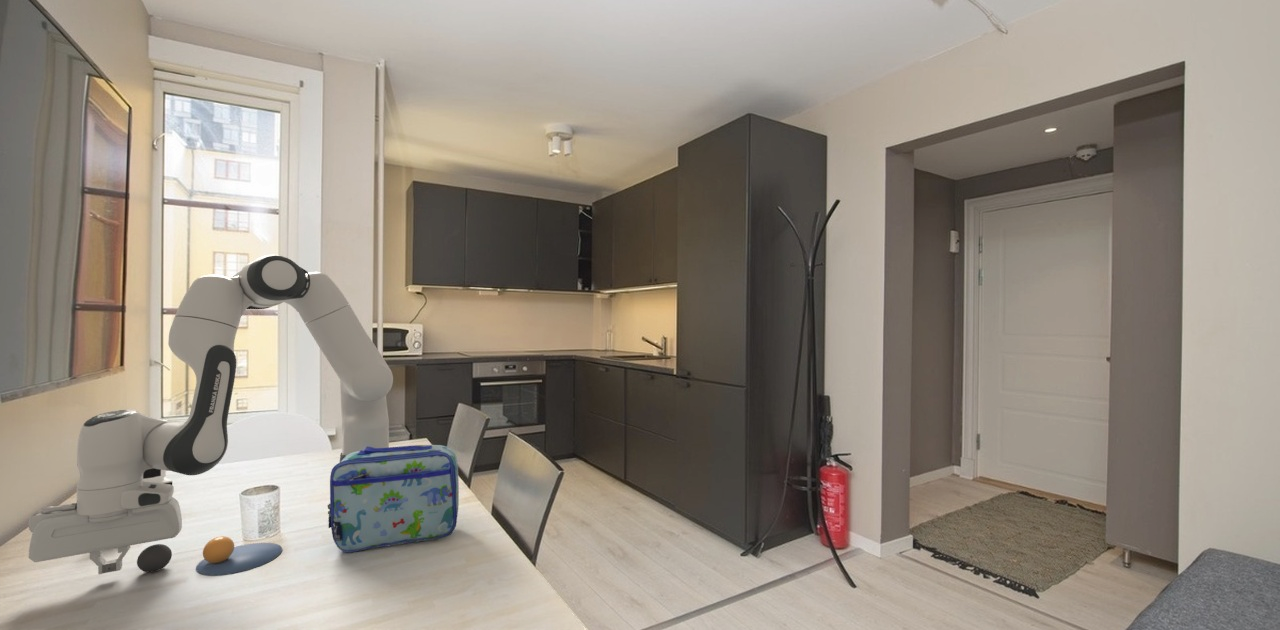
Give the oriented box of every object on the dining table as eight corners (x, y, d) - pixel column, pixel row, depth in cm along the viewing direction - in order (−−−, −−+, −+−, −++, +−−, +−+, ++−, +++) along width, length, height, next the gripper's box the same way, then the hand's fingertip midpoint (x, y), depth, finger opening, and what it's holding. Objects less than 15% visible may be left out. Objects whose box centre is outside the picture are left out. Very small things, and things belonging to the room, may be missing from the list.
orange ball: (200, 552, 106) (226, 560, 108) (193, 562, 102) (220, 571, 103) (217, 529, 107) (242, 537, 109) (210, 538, 103) (236, 547, 105)
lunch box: (323, 558, 107) (324, 457, 107) (337, 537, 118) (338, 444, 118) (456, 543, 115) (457, 448, 115) (459, 524, 125) (459, 437, 125)
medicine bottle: (135, 516, 129) (135, 468, 129) (126, 510, 133) (126, 463, 133) (172, 507, 135) (172, 461, 135) (162, 502, 139) (163, 457, 139)
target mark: (287, 539, 116) (287, 538, 116) (275, 566, 104) (275, 565, 104) (208, 551, 110) (208, 550, 110) (185, 581, 98) (185, 580, 98)
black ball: (139, 547, 103) (144, 572, 102) (130, 554, 98) (136, 580, 98) (171, 537, 105) (177, 561, 105) (164, 543, 101) (170, 568, 101)
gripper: (21, 515, 90) (21, 595, 90) (178, 492, 101) (178, 563, 101) (35, 504, 95) (35, 579, 95) (183, 484, 107) (183, 551, 106)
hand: (110, 571), depth 98 cm, fingers closed
